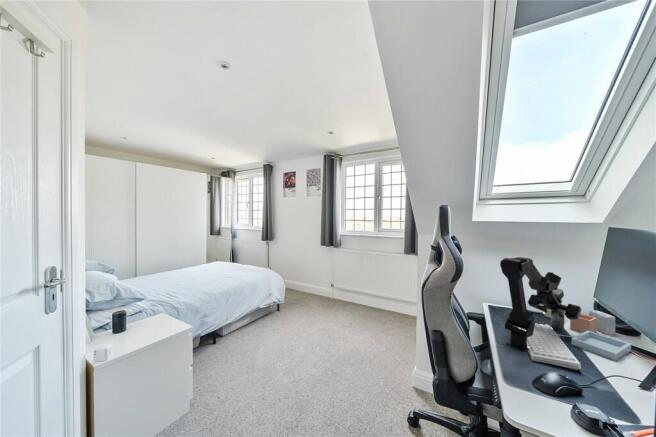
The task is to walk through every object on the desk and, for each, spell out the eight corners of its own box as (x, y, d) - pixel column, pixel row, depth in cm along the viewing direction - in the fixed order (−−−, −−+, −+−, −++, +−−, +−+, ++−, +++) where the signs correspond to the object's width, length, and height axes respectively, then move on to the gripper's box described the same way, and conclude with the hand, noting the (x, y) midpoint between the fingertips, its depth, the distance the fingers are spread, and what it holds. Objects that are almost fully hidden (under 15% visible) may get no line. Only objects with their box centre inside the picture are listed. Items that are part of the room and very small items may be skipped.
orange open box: (589, 335, 114) (590, 320, 114) (570, 329, 120) (570, 315, 120) (596, 332, 117) (596, 318, 117) (576, 326, 123) (576, 312, 123)
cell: (561, 332, 116) (561, 308, 116) (548, 328, 121) (549, 305, 120) (565, 330, 119) (566, 306, 118) (553, 326, 123) (554, 303, 122)
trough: (615, 361, 94) (616, 353, 94) (571, 344, 106) (571, 338, 106) (630, 351, 101) (631, 344, 101) (587, 336, 113) (587, 330, 113)
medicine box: (615, 335, 114) (616, 317, 114) (606, 335, 114) (606, 317, 114) (597, 327, 122) (597, 310, 122) (588, 327, 122) (588, 310, 122)
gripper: (580, 289, 109) (590, 309, 114) (531, 278, 126) (541, 296, 131) (571, 309, 106) (582, 329, 111) (522, 296, 123) (533, 313, 128)
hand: (558, 315), depth 120 cm, fingers open, 9 cm apart
